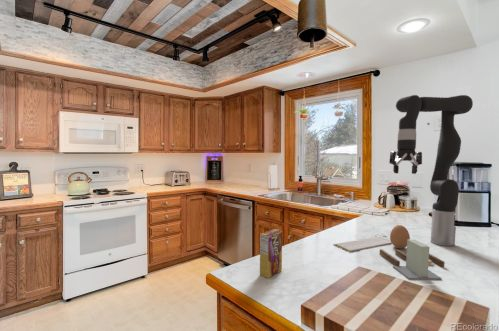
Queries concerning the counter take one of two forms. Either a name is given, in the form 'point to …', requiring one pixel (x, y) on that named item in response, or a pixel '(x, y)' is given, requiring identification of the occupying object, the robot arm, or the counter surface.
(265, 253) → the candy box
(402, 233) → the egg
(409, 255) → the pale green block
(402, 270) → the rubber mat
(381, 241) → the baseboard molding
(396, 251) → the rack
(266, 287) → the counter surface
